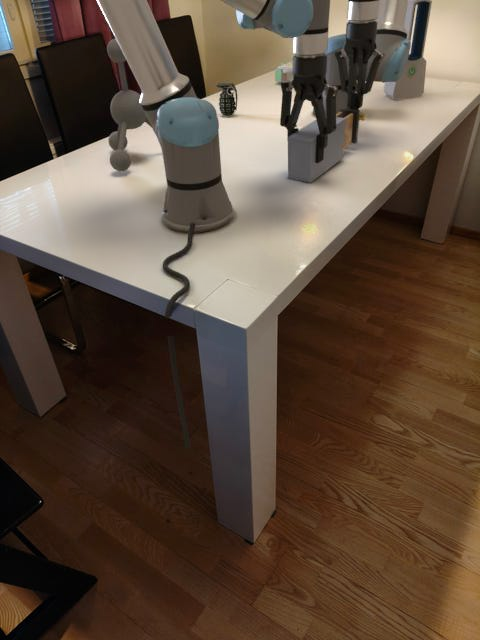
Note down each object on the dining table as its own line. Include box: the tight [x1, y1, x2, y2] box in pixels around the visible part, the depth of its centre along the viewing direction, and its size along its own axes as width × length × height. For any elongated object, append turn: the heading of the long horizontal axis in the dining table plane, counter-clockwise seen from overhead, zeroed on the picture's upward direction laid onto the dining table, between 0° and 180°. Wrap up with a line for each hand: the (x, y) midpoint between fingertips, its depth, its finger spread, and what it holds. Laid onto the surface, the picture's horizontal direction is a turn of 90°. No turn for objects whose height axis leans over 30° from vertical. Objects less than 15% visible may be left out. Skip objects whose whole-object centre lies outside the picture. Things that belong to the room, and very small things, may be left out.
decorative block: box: [274, 60, 293, 83], centre depth 206 cm, size 26×6×20 cm
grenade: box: [215, 82, 238, 117], centre depth 166 cm, size 7×6×10 cm
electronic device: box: [383, 0, 433, 100], centre depth 169 cm, size 12×8×30 cm, turn 105°
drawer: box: [336, 108, 366, 150], centre depth 131 cm, size 22×5×8 cm, turn 144°
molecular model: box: [106, 37, 152, 172], centre depth 131 cm, size 24×22×30 cm
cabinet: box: [287, 117, 346, 184], centre depth 123 cm, size 18×6×10 cm, turn 144°
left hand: (306, 158), depth 120 cm, fingers closed on cabinet, 6 cm apart
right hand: (353, 119), depth 135 cm, fingers closed
